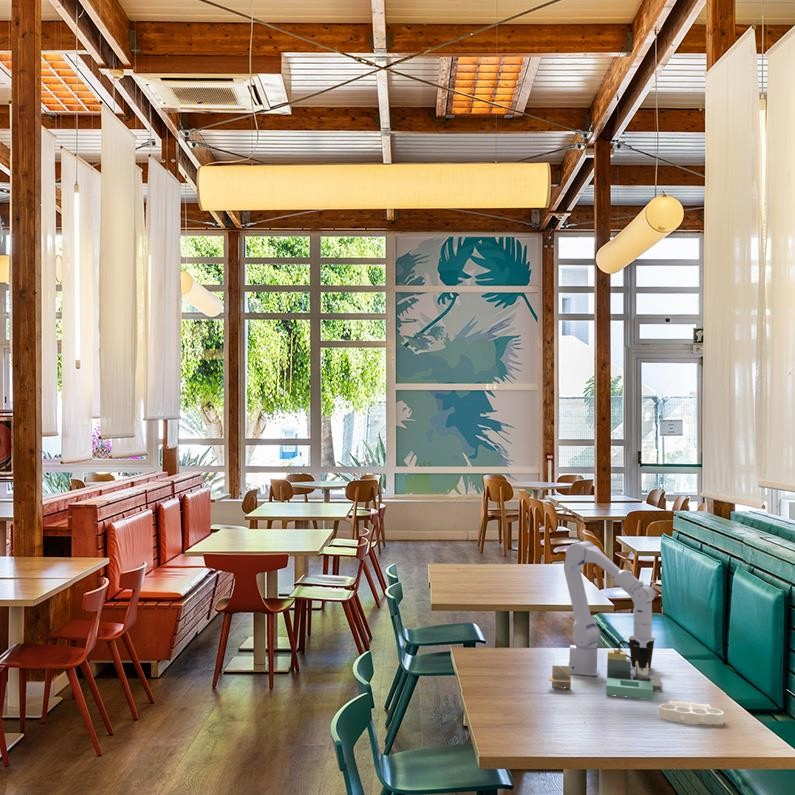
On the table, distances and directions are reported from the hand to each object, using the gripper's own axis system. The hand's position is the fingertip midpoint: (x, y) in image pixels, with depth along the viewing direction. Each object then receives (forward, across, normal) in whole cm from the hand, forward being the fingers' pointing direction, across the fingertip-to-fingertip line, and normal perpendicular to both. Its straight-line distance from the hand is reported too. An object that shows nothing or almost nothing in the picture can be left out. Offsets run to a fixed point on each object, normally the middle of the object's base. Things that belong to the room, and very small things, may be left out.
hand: (642, 664), depth 292 cm
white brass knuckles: (+7, -30, -13) cm, 33 cm away
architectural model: (+7, -13, +25) cm, 29 cm away
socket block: (+6, 0, +3) cm, 7 cm away
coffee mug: (+6, +22, +1) cm, 23 cm away
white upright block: (+6, 0, 0) cm, 6 cm away
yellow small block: (-1, 0, +8) cm, 8 cm away
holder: (+6, -12, +4) cm, 14 cm away
